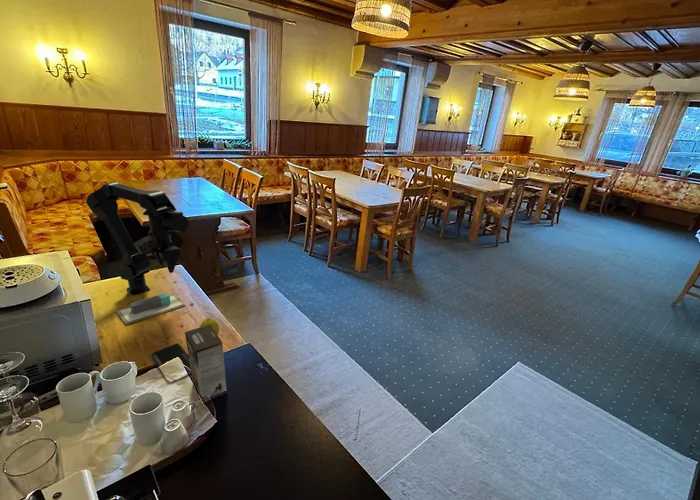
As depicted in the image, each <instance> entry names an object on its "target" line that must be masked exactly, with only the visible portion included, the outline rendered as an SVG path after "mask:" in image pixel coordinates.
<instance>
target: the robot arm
mask: <svg viewBox="0 0 700 500" xmlns="http://www.w3.org/2000/svg"><path fill="white" fill-rule="evenodd" d="M119 199H123V200H126V201H130V202H133V203H137V204H138V205H139V207H141V208H142V209H144V210H145V211H143V212H142V215H143V216H147V217H148V222H149V228H150V230H148V235H147V236H144V237H142V238H140V239H139V240H137V241H135V242H133V240H132V238H131V236H130V234H129V232H128V231H127V229H126V227H125V225H124V223H123V221H122V220H121V218H120V215H119V213H118V209H119V204H118V200H119ZM85 202H86V205H87V207H88V208H89V209H90V210H91V212H92V213H93V214H94V215H96V216H97V217H99V218H100V219H102V221H103V223H104V224H105V226H106V228H107V230H108V232H109V233H110V234H111V237H112V239H113V240H114V243H115V244H116V245H117V247H118V249H119V251H120V253H121V254H122V256H121V258H122V259H121V264H122V267H123V268H122V270H121V271H120V272H119V273H118V274H119V276H120V279H121V280H123V281H124V280H125V281H127V283H128V287H126V290H127V291H128V293H129V294H130V295H131V296H134V295H137V294H141V293H144V292H147V291H150V290H151V289H150V287H149V286H148V285H147V281H146V276H145V275H146V274H148V273H150V269H151V266H152V264H151V259H150V258H149V256H148V254H147V252H149V251H152V252H154V255H155V257H156V259H157V261H158V263H159V266H163V265H164V264H165V265H166V268H167V270H168V273H169V274H173V273H174V271H175V268H176V265H177V263H178V261H179V259H180V258H181V257H182V256H183V253H182V252H183V250H182V249H180V248H179V247H177V246H176V245H174V241H172V239H171V235H172V234H173V233H172V232H177V233H185V232H186V231H187V230H188V228H189V225H190V224H189V222H190V221H189V219H188V218H187V216H185V215H184V213H183V212H182V211H177V208H176V207H175V205H174V203H172V201H171V200H170V198H169V197H168V196H167V194H166V193H165V192H164V191H162V190H144V189H143V190H142V189H140V188H137V187H132V186H128V185H127V184H123V183H120V182H117V181H114V182H113V181H112V182H107V183H104V184H103V185H102V186H101V187H100V188H98V189H97V190H95V191H94V192H92V193H91V194H89V195H88V196H87V198H86V201H85Z"/></svg>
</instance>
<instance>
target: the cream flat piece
mask: <svg viewBox="0 0 700 500" xmlns="http://www.w3.org/2000/svg"><path fill="white" fill-rule="evenodd" d="M168 295H169V296H170V301H171V303H169V304H166V305H163V306H160V307H157V308H153V309H150V310H147V311H144V312H141V313H138V314H135V315H134V314H133V313H132V312H131V309H130V306H127V307H123V308H121V309H117V310H115V312H116V314H117V315H118V316H119V317H120V319H121V320H122V322H123V323H124V325H125V326H129V325H132V324H135V323H137V322H138V323H139V322H142V321H145V320H148V319H151V318H153V317H156V316H159V315H162V314H165V313H168V312H171V311H174V310H177V309H180V308H183V307H185V306H186V304H185V303H184V301H182V300H181V299H180V298H179V297H178V296H177V295H176V294H175V293H169V294H168Z"/></svg>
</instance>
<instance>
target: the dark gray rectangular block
mask: <svg viewBox="0 0 700 500" xmlns="http://www.w3.org/2000/svg"><path fill="white" fill-rule="evenodd" d="M169 295H170V294H169V293H168V292H164V293H161V294H158V295H157V294H156V295H154V296H150V297H147V298H144V299H141V300H137V301H135V302H131V303H129V307H130V309H131V312H132V313H133V314H134V315H135V314H138V313H141V312H144V311H147V310H150V309H153V308H157V307H160V306H163V305H166V304H169V303H171V301H170V296H169Z"/></svg>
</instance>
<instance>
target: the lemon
mask: <svg viewBox="0 0 700 500" xmlns="http://www.w3.org/2000/svg"><path fill="white" fill-rule="evenodd" d="M217 321H218V320H216V319H214V318H211V317H208V318H205V319H203V320H202V321H201V322H200V325H199V328H200V327H205V326H208V325H211V326H212V327H213V329H214V331H215V332H216V334H217V335H218V336H219V333H220V325H219V322H217Z"/></svg>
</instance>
